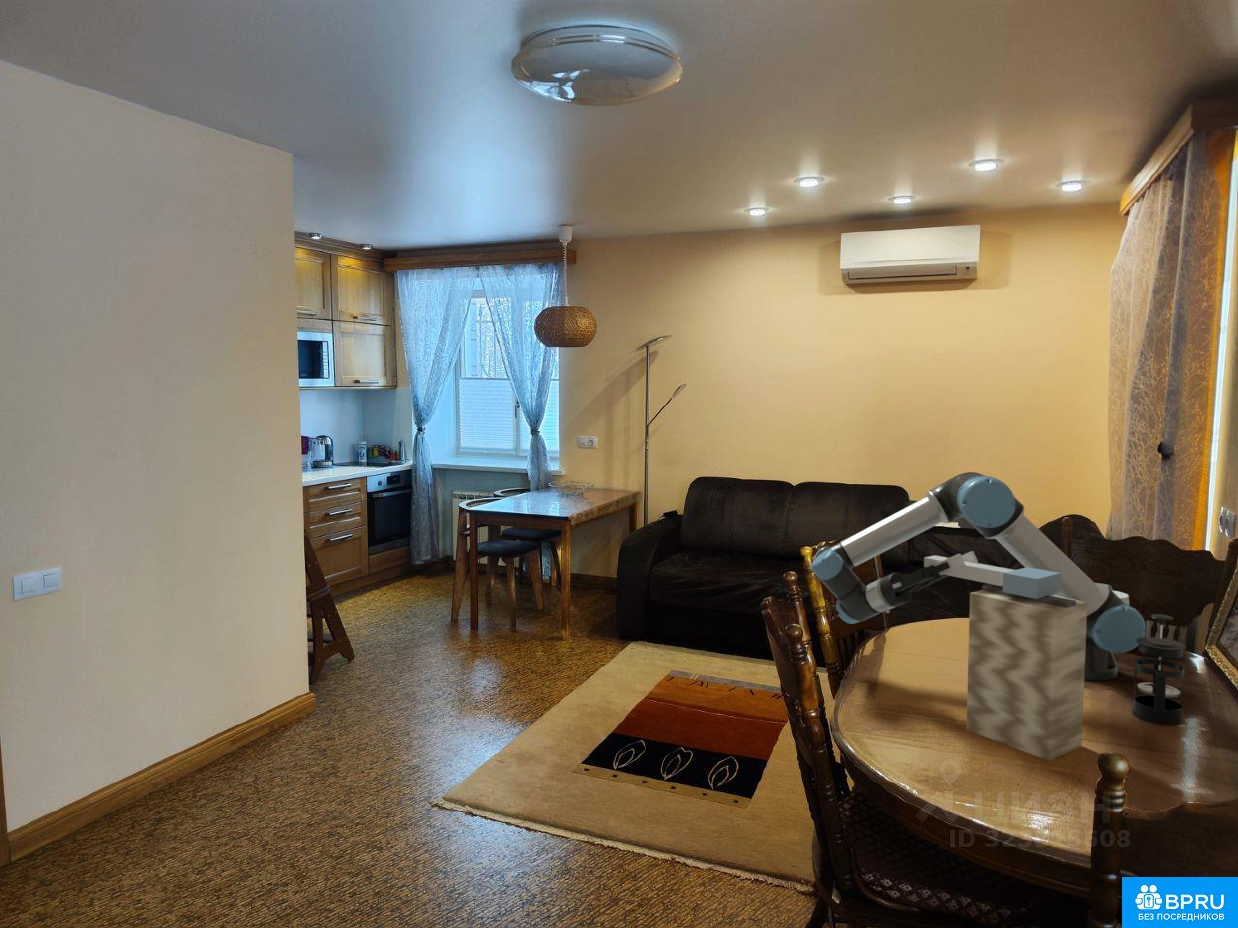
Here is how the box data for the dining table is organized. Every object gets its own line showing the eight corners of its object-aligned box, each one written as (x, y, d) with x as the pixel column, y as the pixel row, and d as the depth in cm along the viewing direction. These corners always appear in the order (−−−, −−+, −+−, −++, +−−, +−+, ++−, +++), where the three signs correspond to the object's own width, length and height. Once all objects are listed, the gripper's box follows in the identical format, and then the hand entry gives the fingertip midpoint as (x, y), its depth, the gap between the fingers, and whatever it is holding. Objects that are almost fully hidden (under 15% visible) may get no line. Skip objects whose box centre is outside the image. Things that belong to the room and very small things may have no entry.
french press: (1131, 704, 184) (1135, 607, 182) (1181, 712, 179) (1186, 612, 177) (1132, 722, 174) (1137, 619, 172) (1185, 731, 169) (1190, 625, 167)
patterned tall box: (966, 729, 172) (970, 588, 169) (998, 716, 178) (1002, 580, 176) (1050, 760, 157) (1055, 606, 154) (1081, 745, 163) (1087, 597, 161)
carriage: (917, 573, 182) (917, 556, 181) (941, 568, 187) (941, 552, 186) (1036, 598, 159) (1036, 579, 158) (1060, 592, 164) (1060, 573, 163)
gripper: (918, 601, 197) (997, 569, 179) (873, 612, 187) (952, 579, 170) (905, 573, 199) (983, 538, 182) (860, 582, 190) (937, 546, 172)
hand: (968, 558), depth 176 cm, fingers closed on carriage, 4 cm apart
